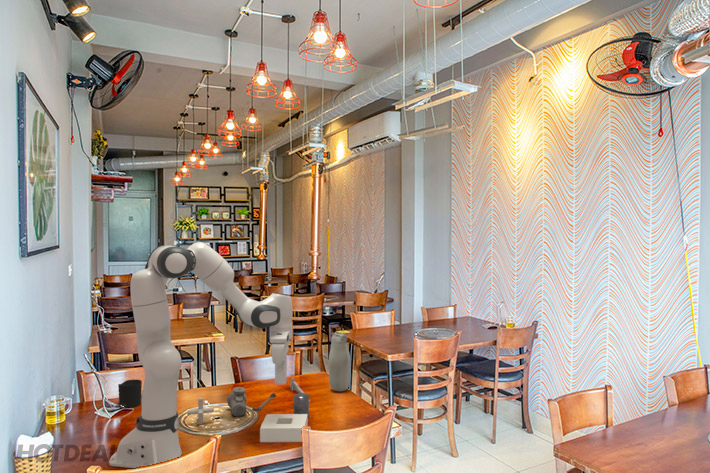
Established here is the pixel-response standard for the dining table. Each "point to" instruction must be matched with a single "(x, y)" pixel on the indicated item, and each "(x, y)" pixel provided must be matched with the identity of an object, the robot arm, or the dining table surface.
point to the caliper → (295, 386)
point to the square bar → (281, 373)
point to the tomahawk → (264, 403)
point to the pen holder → (130, 393)
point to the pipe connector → (200, 411)
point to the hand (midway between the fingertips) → (280, 369)
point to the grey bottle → (339, 363)
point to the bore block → (283, 427)
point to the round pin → (301, 404)
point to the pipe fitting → (237, 401)
